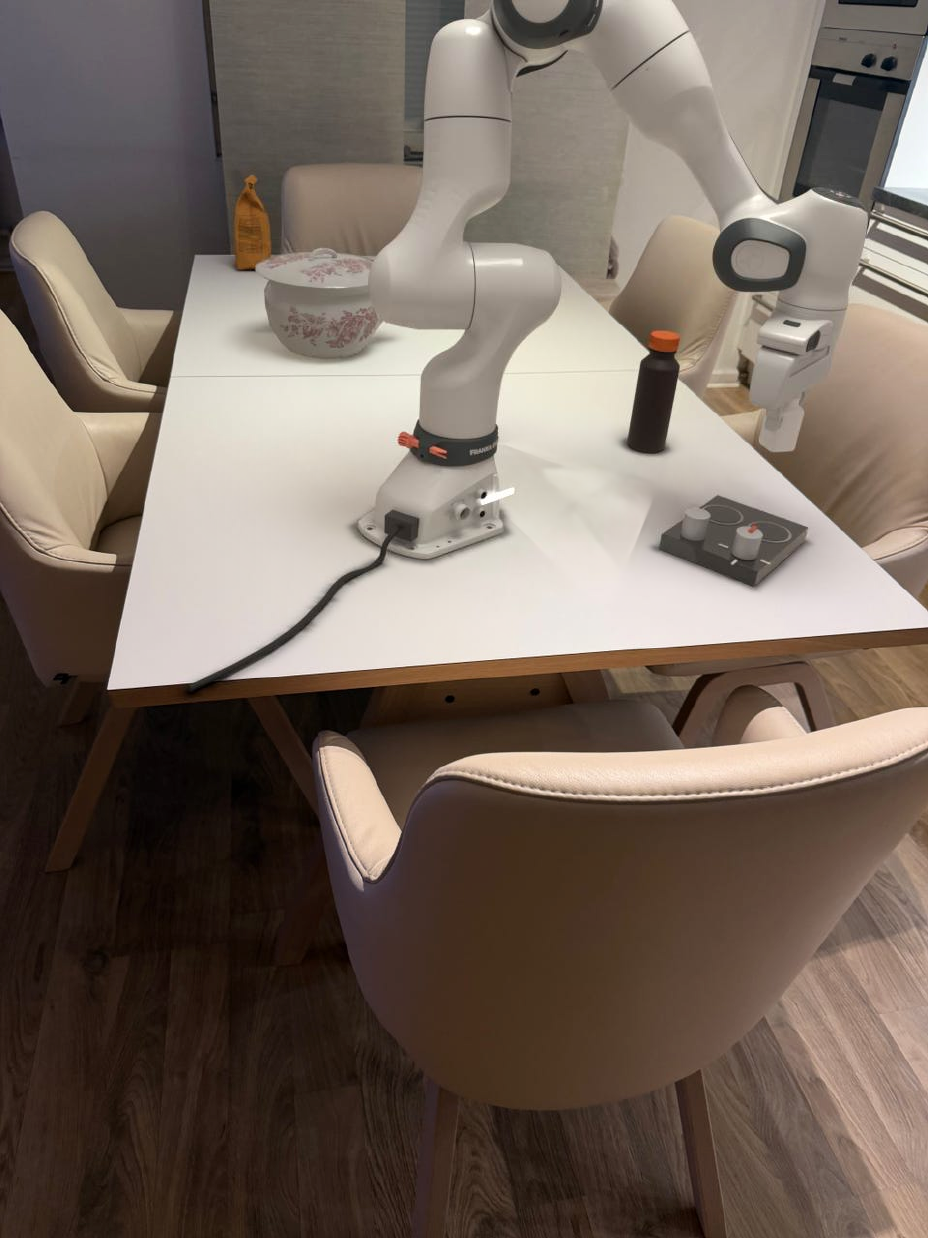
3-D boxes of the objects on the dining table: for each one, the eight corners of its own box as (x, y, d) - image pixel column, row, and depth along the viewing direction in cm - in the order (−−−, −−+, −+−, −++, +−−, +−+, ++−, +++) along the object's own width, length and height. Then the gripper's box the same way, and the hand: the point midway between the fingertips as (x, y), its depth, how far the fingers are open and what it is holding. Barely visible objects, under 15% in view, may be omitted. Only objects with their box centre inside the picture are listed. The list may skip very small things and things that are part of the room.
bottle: (638, 435, 175) (657, 325, 164) (671, 446, 172) (693, 335, 160) (619, 445, 170) (637, 333, 159) (652, 456, 167) (673, 343, 156)
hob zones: (758, 566, 132) (764, 544, 130) (668, 532, 139) (673, 510, 137) (798, 532, 141) (804, 511, 139) (712, 501, 148) (717, 480, 146)
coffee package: (276, 261, 263) (272, 174, 250) (270, 272, 252) (265, 182, 240) (239, 259, 262) (233, 171, 250) (232, 270, 252) (225, 180, 239)
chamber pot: (234, 356, 196) (227, 251, 185) (296, 322, 218) (293, 226, 207) (360, 379, 190) (360, 272, 178) (410, 341, 212) (413, 243, 200)
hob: (753, 590, 131) (758, 573, 130) (655, 550, 139) (658, 534, 137) (806, 542, 144) (811, 527, 142) (714, 508, 151) (717, 493, 150)
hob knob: (750, 563, 132) (756, 539, 130) (726, 554, 134) (732, 530, 132) (761, 554, 135) (767, 530, 133) (738, 545, 136) (744, 521, 134)
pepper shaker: (770, 454, 133) (787, 388, 128) (755, 442, 136) (771, 378, 131) (795, 452, 134) (813, 386, 129) (780, 441, 137) (796, 377, 132)
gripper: (812, 304, 134) (788, 399, 142) (752, 333, 120) (729, 436, 128) (856, 314, 131) (829, 410, 139) (800, 345, 117) (773, 449, 125)
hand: (780, 423), depth 133 cm, fingers closed on pepper shaker, 5 cm apart
